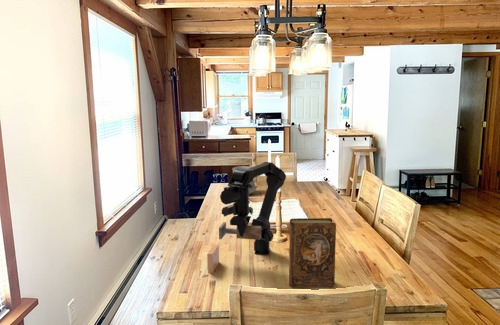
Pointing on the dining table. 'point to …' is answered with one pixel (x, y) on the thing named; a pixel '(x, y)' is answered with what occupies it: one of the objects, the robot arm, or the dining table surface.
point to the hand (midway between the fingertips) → (242, 235)
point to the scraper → (249, 233)
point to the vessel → (250, 182)
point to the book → (312, 253)
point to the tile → (213, 258)
